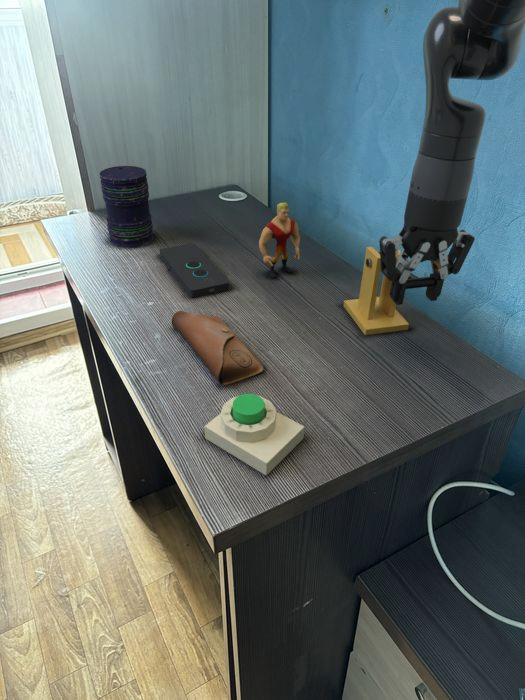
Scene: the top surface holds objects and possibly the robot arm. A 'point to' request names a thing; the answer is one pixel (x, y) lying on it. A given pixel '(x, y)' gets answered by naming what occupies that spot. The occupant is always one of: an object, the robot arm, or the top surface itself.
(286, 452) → the switch box
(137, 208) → the storage jar
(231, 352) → the sunglasses case
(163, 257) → the smart home device
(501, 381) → the top surface
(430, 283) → the switch lever
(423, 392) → the top surface
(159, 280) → the top surface
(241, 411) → the light button
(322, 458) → the top surface
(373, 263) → the lever bracket
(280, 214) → the action figure
